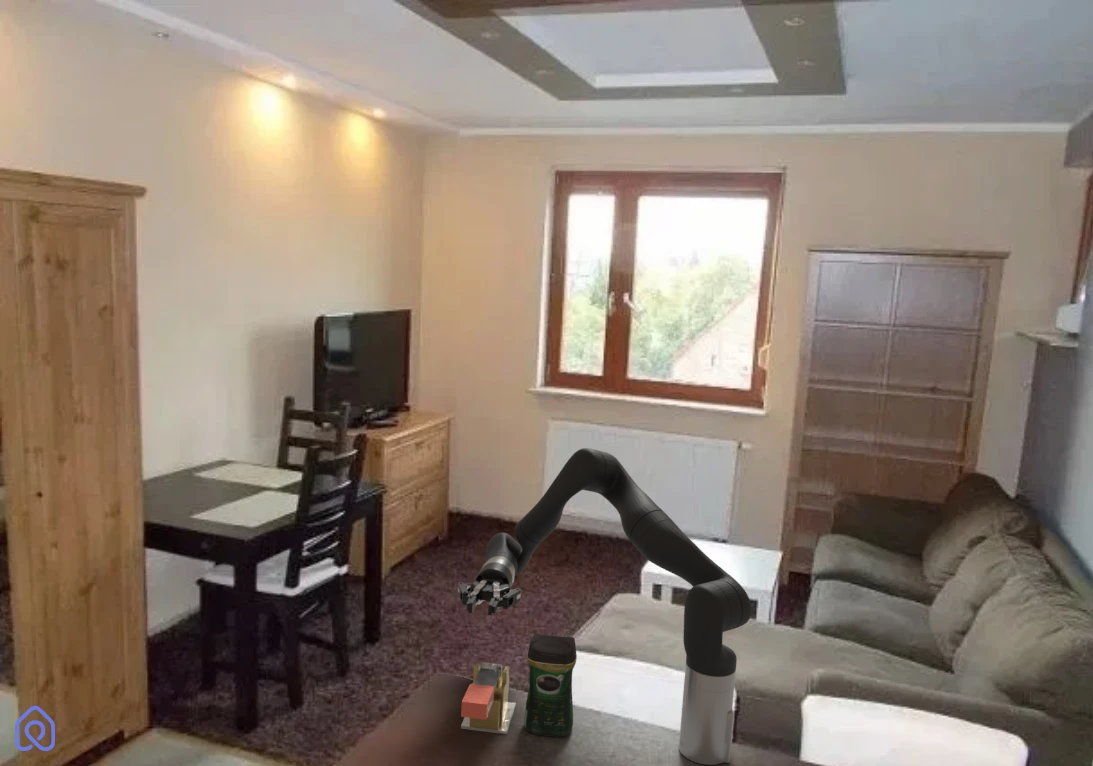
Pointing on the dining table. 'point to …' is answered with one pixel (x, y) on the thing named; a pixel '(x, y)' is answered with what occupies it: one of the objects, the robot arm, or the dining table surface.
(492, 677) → the lever
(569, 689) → the coffee jar
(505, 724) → the gold lever base
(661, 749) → the dining table surface
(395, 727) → the dining table surface
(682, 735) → the robot arm
